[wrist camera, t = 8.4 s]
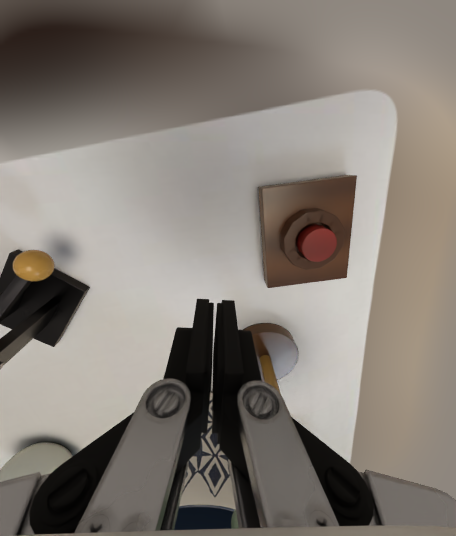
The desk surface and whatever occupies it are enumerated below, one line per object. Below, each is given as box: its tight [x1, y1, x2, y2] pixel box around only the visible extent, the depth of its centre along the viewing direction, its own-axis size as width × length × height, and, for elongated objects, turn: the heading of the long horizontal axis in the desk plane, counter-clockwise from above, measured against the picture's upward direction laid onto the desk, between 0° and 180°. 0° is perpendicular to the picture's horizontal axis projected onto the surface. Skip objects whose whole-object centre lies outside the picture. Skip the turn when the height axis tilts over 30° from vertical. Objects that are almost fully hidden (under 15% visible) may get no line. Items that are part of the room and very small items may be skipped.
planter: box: [174, 393, 236, 530], centre depth 35 cm, size 16×16×14 cm
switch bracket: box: [0, 250, 90, 369], centre depth 25 cm, size 11×9×12 cm
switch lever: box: [0, 250, 54, 322], centre depth 22 cm, size 13×3×3 cm, turn 143°
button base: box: [258, 175, 357, 288], centre depth 26 cm, size 12×10×4 cm
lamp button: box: [297, 225, 337, 262], centre depth 24 cm, size 4×4×2 cm
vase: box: [0, 442, 72, 482], centre depth 35 cm, size 12×12×18 cm
